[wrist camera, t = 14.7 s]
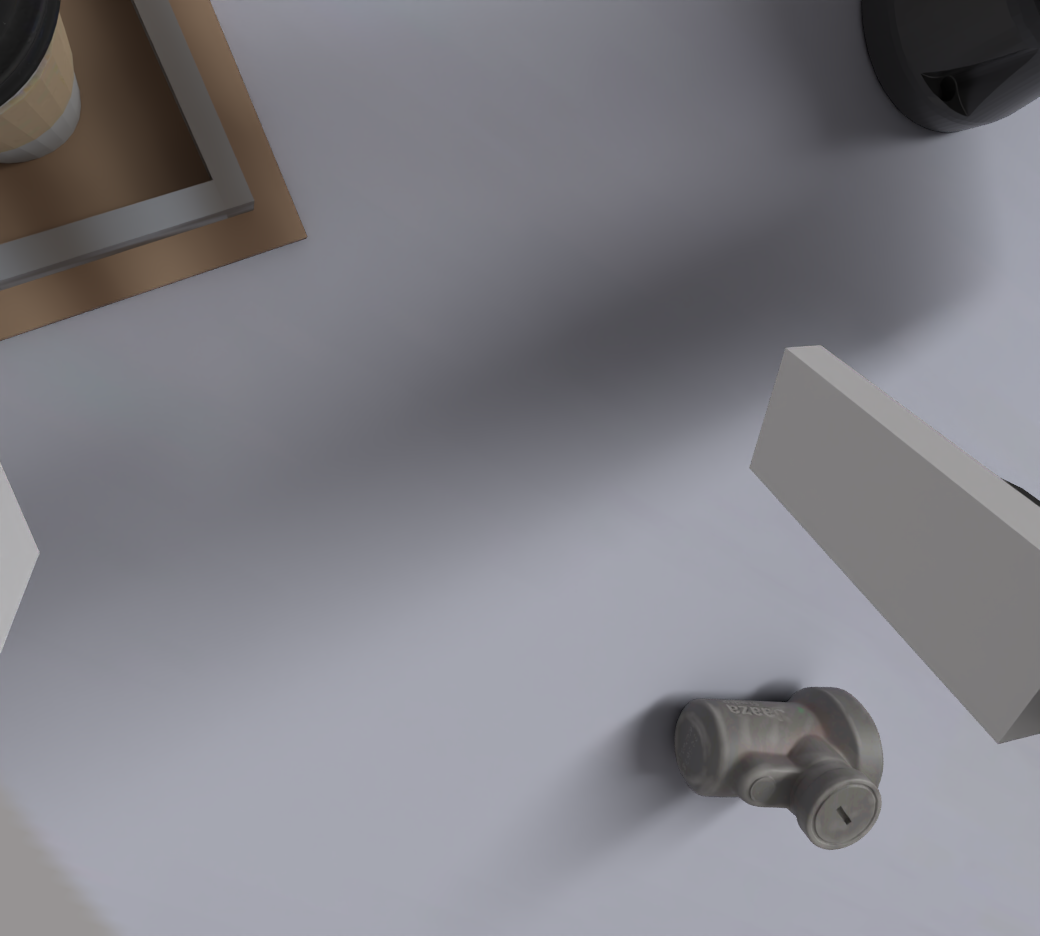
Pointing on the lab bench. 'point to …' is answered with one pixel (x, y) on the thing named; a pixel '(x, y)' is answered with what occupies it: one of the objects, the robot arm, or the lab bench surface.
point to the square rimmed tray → (140, 169)
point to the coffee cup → (35, 81)
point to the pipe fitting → (788, 759)
